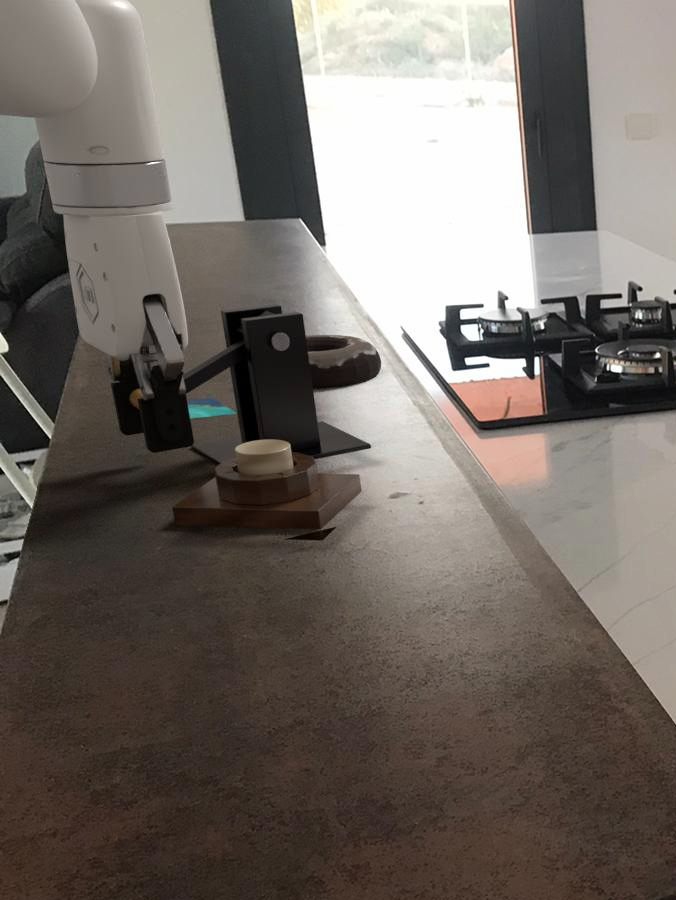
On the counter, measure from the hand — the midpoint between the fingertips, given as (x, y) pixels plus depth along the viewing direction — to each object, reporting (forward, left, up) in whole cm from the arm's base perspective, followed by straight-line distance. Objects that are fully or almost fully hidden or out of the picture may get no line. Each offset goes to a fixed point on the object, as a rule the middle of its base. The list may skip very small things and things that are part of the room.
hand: (156, 437), depth 96 cm
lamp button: (+12, -7, 0) cm, 14 cm away
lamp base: (+12, -7, -3) cm, 14 cm away
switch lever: (+4, +4, +4) cm, 6 cm away
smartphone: (-3, +19, -4) cm, 19 cm away
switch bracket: (+7, +7, -3) cm, 10 cm away
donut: (+1, +31, -4) cm, 31 cm away
